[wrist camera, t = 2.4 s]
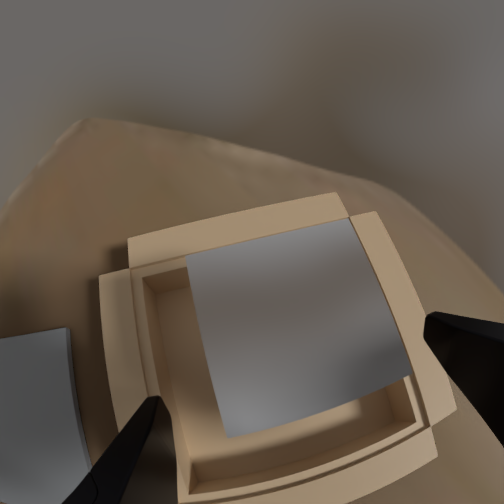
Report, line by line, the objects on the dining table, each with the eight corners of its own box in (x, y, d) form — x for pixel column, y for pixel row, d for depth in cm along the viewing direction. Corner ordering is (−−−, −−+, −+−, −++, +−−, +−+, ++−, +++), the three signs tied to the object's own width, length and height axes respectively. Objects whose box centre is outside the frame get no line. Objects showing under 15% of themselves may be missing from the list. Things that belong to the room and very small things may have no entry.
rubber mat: (111, 522, 11) (107, 524, 10) (-14, 493, 9) (-19, 494, 9) (69, 329, 17) (65, 327, 17) (-36, 346, 16) (-41, 344, 15)
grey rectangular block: (327, 391, 15) (412, 373, 7) (242, 416, 15) (227, 438, 6) (301, 313, 18) (348, 218, 9) (220, 335, 17) (185, 255, 8)
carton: (432, 436, 14) (463, 438, 11) (170, 518, 12) (153, 539, 9) (349, 217, 22) (362, 187, 19) (119, 270, 20) (98, 246, 16)
